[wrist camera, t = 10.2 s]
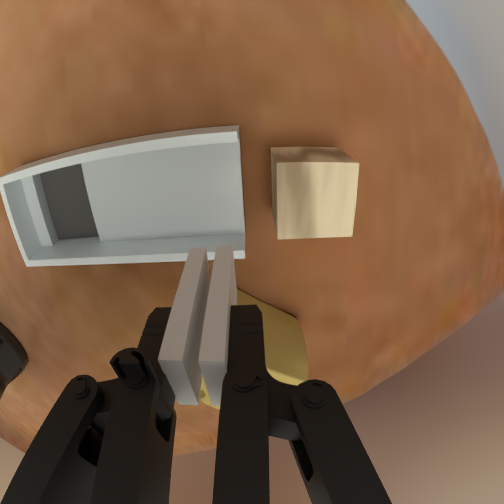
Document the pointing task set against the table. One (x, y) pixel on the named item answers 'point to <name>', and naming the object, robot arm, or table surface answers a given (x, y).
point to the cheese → (276, 345)
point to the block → (313, 192)
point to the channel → (130, 200)
